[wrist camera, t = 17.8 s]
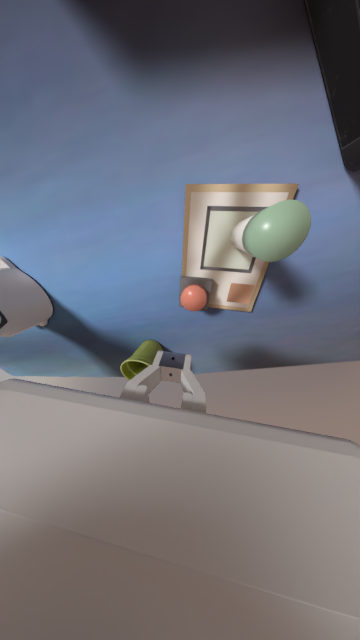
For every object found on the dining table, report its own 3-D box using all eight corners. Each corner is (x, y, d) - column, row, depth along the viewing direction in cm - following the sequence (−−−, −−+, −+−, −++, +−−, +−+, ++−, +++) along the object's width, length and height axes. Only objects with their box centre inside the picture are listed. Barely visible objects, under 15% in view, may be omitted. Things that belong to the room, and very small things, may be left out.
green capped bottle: (226, 248, 21) (243, 260, 11) (233, 218, 19) (260, 199, 9) (252, 250, 20) (293, 263, 11) (261, 219, 18) (323, 199, 8)
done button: (181, 305, 25) (180, 309, 24) (182, 282, 23) (181, 285, 22) (204, 307, 25) (204, 312, 23) (208, 284, 23) (208, 288, 21)
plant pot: (173, 343, 35) (164, 371, 28) (162, 363, 40) (153, 391, 33) (140, 329, 35) (123, 353, 27) (134, 351, 40) (117, 377, 33)
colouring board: (181, 302, 28) (179, 307, 26) (186, 185, 19) (183, 179, 17) (249, 310, 27) (253, 316, 25) (295, 185, 17) (307, 178, 15)
